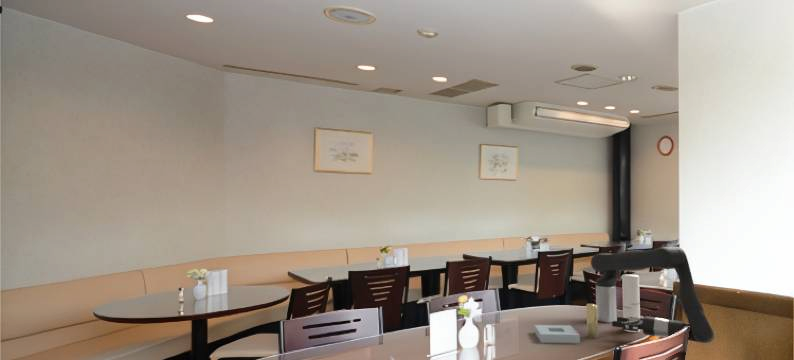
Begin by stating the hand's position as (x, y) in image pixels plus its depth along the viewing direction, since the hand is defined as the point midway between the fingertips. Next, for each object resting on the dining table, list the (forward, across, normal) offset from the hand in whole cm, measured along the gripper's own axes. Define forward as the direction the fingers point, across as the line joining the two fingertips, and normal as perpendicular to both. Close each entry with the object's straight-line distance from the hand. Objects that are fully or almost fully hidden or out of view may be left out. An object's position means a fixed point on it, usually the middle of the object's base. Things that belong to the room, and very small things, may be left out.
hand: (614, 321), depth 218 cm
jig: (+22, +11, +8) cm, 26 cm away
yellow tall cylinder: (+9, 0, +8) cm, 12 cm away
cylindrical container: (-2, -22, +8) cm, 23 cm away
